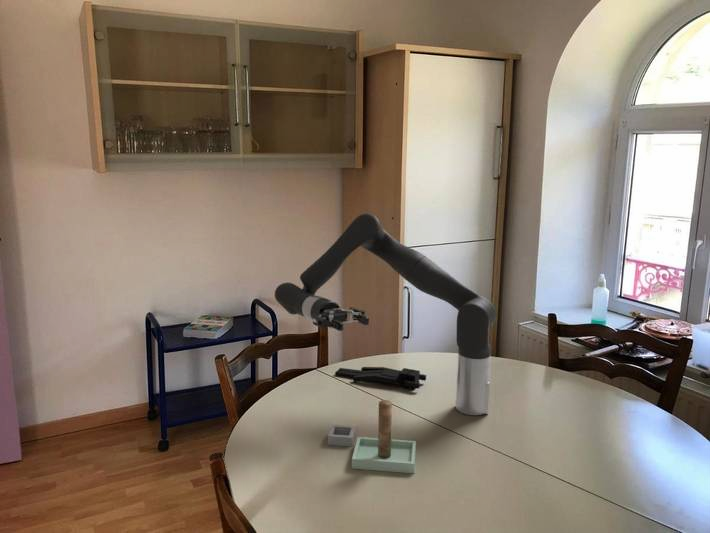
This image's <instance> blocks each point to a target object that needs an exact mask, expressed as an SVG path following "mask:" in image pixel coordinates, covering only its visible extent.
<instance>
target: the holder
mask: <svg viewBox="0 0 710 533" xmlns="http://www.w3.org/2000/svg"><path fill="white" fill-rule="evenodd" d="M356 427H357V426H356V425H344V424H343V425H342V424H332V425H331V427H330V430H329V432H328V435H327V445H329V446H338V447H353V446H354V442H355V439H356V435H357V432H356V431H357V430H356V429H357V428H356Z"/></svg>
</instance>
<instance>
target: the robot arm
mask: <svg viewBox="0 0 710 533" xmlns="http://www.w3.org/2000/svg"><path fill="white" fill-rule="evenodd" d="M360 247H362V249H364V250H365V251H366V250H367V251H369V252H370V253H372V254H373V255H375V256H376V257H379V258H380V259H382V260H383V261H384V263H387V265H389V267H391V269H393V271H395V272H396V273H397V274H398V275H399V276H401V277H402V278H403V279H404V280H405V281H407V282H408V283H409V284H410V285H412V286H413V287H414V288H416V289H417V290H419V291H420V292H422V293H425V294H426V295H429V296H431V297H434V298H436V299H440V301H441V300H442V301H444V302H445V303H448V304H449V305H450V306H452V307H453V308H455V309H456V310H457V311H458V312H457V316H456V344H457V345H456V346H457V349H458V350H457V351H458V352H457V353H458V354H457V371H456V373H457V374H456V376H457V377H456V391H455V395H456V396H455V409H456V410H457V411H458V412H459V413H461V414H464V415H466V416H481V415H488V414H489V404H490V386H491V385H490V384H491V383H490V371H491V370H490V369H491V354H492V347H491V344H490V343H489V328H490V327H491V326H492V325H493V324H494V323H495V321H496V319H497V311H496V308H495V305H494V304H493V303H492V302H491V301H490V300H489V299H487V298H485V297H484V296H482V295H480V294H479V293H478V292H475V291H474V290H473V289H471V288H469V287H468V286H466V285H464V284H463V283H461V282H460V281H459V280H457V279H456V278H455V277H453V276H452V275H451V274H450V273H448V272H447V271H445V270H444V269H443V268H442V267H441V266H439V265H437V264H436V263H435V262H434V261H432V259H430V258H428V257H427V256H426V255H424V254H423V253H421V252H420V251H417V250H415V249H413V248H411V247H409V246H406V245H404V244H402V243H401V242H399V241H398V240H396V239H395V238H394V237H393V236H392V235H390V234H389V233H388V232H387V231H386V230H385V229H384V227H383V226H382V224H381V223H380V220H379V219H378V217H377V216H375V215H374V214H372V213H362V214H359V215H358V216H357V217H356V218H354V219H353V221H352V222H350V224H349V226H347V228H346V229H345V230H344V232H343V233H342V234H341V235H340V236H339V237H338V238H337V239H336V240H335V242H334V243H333V244H332V245H331V246H330V247H329V248H328V249H327V250H326V251H325V252H324V253H323V254H322V255H321V256H320V257H318V258H317V259H316V261H314V262H313V263H312V264H311V265H310V266H308V267H307V268H306V269H305V270H304V271H302V273H301V274H300V276H299V279H300V281H301V283H302V285H303V287H302V288H301V287H300V286H298V285H297V284H295V283H293V282H283V283H280V284H279V285H278V286H277V287H276V288H275V291H274V298H275V301H276V302H278V304H280V306H281V307H282V308H283V309H284V310H285V311H286V312H287V313H289V314H290V315H299V316H301V317H304V318H306V319H308V320H309V321H311V322H312V325H314V326H316V327H318V328H320V329H322V330H326V329H327V328H329V329H330V330H331V329H335V330H337V331H339V332H343V330H344V323H345V324H352V323H359V324H361V325H365V326H368V325H369V323H370V317H369V316H366V311H365V310H362V309H358V308H356V307H353V306H352V307H349V309H344V308H341V307H340V305H339V304H338V302H336V301H334V300H331V299H329V298H325V297H323V296H319V295H316V293H317V292H318V290H320V289H321V287H323V286H324V285H325V284H326V283H327V282H328V281H330V280H331V279H332V277H333V276H334V275H335V274H336V273H337V272H338V271H339V269H340V268H341V266H343V264H344V262H345V261H346V259H348V258H349V257H350V255H351V254H353V252H354V251H355V250H357V249H358V248H360ZM348 316H349V319H348Z"/></svg>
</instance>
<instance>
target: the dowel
mask: <svg viewBox="0 0 710 533" xmlns="http://www.w3.org/2000/svg"><path fill="white" fill-rule="evenodd" d="M392 410H393V403H392V401H391V400H388V399H383V400H379V402H378V423H377V424H378V430H377V432H378V433H377V434H378V436H377V437H378V456H379V457H380V458H383V459H386V458H389V457H391V439H392V419H393V418H392V415H393V413H392V412H393V411H392Z"/></svg>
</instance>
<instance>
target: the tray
mask: <svg viewBox="0 0 710 533" xmlns="http://www.w3.org/2000/svg"><path fill="white" fill-rule="evenodd" d="M416 449H417V440H406V439H404V440H403V439H395V438H394V439H393V438H391V457H389V458H386V459H383V458H380V457H379V456H378V438H377V437H367V436H365V437H364V436H363V437H362V436H357V438H356V442H355V446H354V449H353V454H352V458H351V469H355V470H368V471H370V470H371V471H380V472H393V473H402V474H403V473H406V474H415V466H416V453H417V450H416Z"/></svg>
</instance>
